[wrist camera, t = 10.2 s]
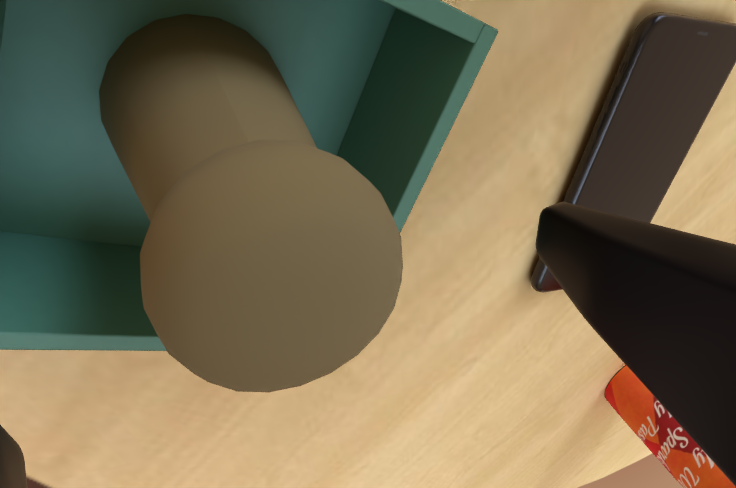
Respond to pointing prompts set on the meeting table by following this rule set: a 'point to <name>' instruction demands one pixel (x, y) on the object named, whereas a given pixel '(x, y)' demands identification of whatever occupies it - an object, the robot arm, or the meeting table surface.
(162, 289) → the brown pawn
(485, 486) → the meeting table surface
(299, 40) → the tote
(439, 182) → the meeting table surface
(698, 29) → the smartphone
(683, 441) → the paper cup
